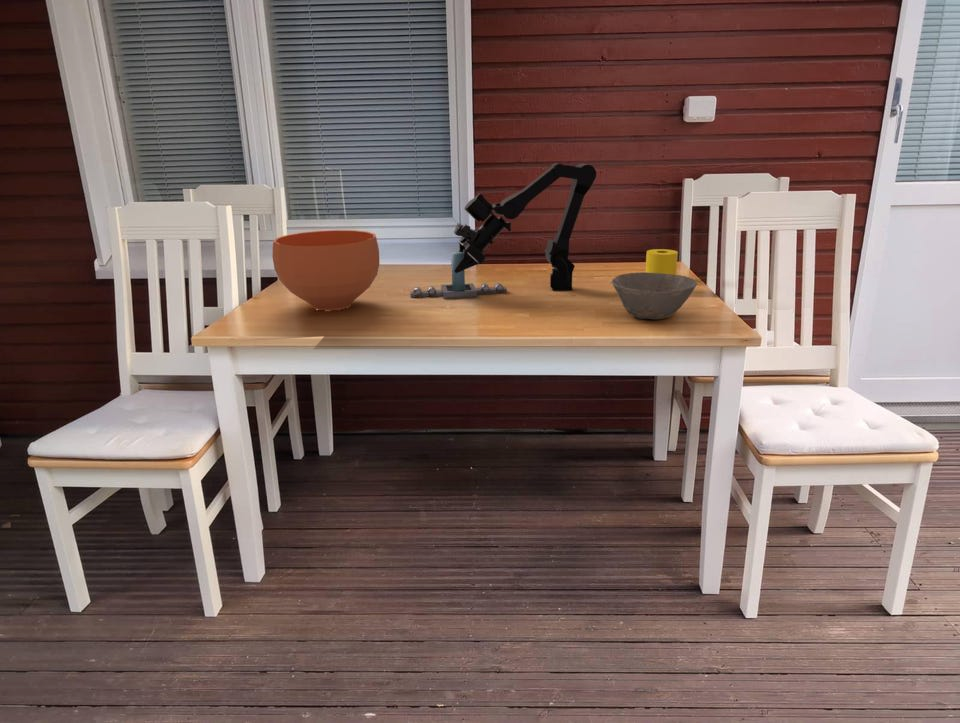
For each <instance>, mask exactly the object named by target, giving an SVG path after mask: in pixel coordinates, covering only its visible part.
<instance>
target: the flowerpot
mask: <svg viewBox="0 0 960 723" xmlns="http://www.w3.org/2000/svg"><path fill="white" fill-rule="evenodd" d="M272 261H273V262H272V263H273V269H274V271H275V273H276V276H277V277H278V278H277V279H278V280H279V282H280V283H281V284H283V286H284V287H285V288H286V289H287V290H288V291H289V292H290V293H291V294H293V295H294V296H296V297H297V298H299V299H302V300H303V301H304V302H306V303H308V304H310V305H311V306H312V309H313V308H315V309H318V310H338V311H341V310H340V309H343V310H345V309H344V308H347V307H349V308H351V307H352V303H353V302H354V301H356V299H358V298H359V297H360V296H361V295H362V294H363V293H365V291H367V290H368V289H370V287H371V286H372V284H373V283H374V280H375V279H376V277H377V276H378V271H379V267H380V248H379V244H378V239H377V235H376V233H374V232H371V231H365V230H357V229H354V230H353V229H351V230H350V229H335V230H334V229H331V230H330V229H328V230H327V229H326V230H314V231H301V232H297V233H290V234H286V235H285V234H284V235H281V236H278V237H276V238H275V239H274V240H273V242H272ZM315 309H314V310H315ZM347 309H348V308H347ZM318 310H317V311H318Z"/></svg>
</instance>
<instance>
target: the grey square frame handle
mask: <svg viewBox="0 0 960 723" xmlns="http://www.w3.org/2000/svg"><path fill="white" fill-rule="evenodd" d="M505 293H506V294H507V293H508V288H507V287H506V286H503V284H502V283H501V282H497V283H495V284H494V287H490V286H489V285H488V283H482V284H481V285H480V287H478V288H477V287H476V286H475V284H474V283H473V282H472V283H465V290H461V291H452V283H451V284H440V289H436V287H435V286H433V285H430V286H427V289H426V290H422V288H421V287H419V286H415V287H414V288H413V289H412V291H409V294H410V295H409V296H410V298H427V297H428V298H430V297H442V298H443V299H444V300H447V299H467V298H478V295H488V294H505Z"/></svg>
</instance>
